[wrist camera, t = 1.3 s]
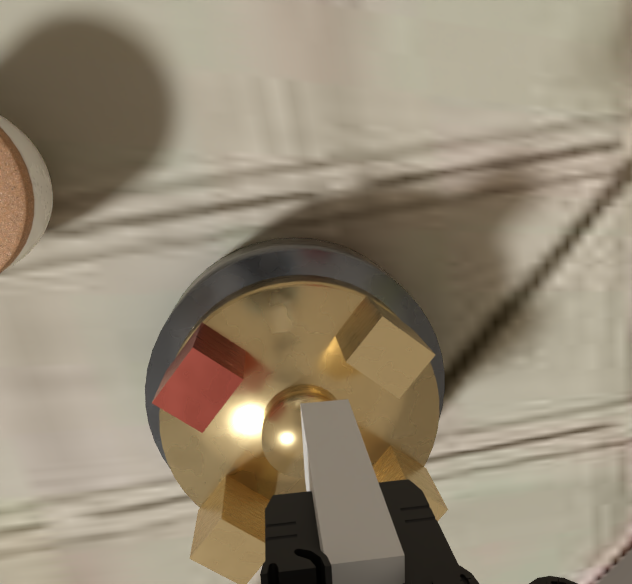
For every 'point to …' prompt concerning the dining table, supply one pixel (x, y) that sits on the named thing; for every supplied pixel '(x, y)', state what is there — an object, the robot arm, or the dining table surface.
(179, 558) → the dining table surface
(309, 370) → the ring nut
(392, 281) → the base
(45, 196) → the lidded jar
